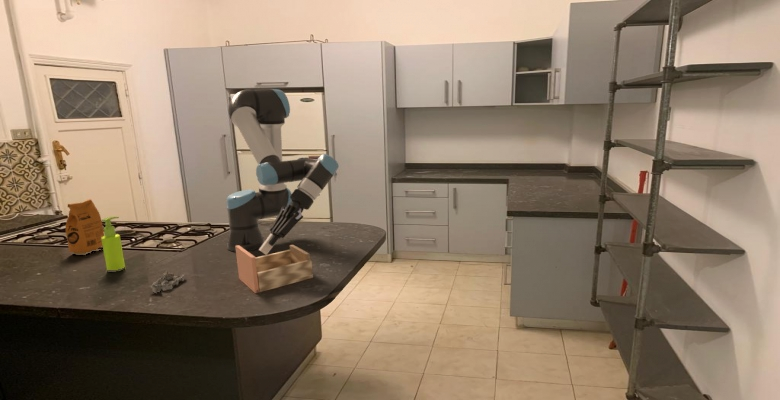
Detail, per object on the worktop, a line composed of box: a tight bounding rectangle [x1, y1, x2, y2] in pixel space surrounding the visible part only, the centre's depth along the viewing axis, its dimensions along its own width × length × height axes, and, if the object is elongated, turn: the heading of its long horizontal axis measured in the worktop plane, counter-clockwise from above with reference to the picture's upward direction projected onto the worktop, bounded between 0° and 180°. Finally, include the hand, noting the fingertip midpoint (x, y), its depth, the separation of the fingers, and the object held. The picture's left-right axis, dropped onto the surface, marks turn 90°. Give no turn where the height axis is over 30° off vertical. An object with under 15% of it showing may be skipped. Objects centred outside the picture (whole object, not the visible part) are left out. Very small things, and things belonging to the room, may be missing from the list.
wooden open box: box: [255, 244, 314, 293], centre depth 150 cm, size 18×16×9 cm
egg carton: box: [149, 270, 185, 293], centre depth 148 cm, size 11×8×4 cm
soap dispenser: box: [101, 216, 126, 271], centre depth 166 cm, size 6×7×20 cm
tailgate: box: [235, 245, 260, 294], centre depth 144 cm, size 1×16×12 cm, turn 35°
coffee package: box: [65, 198, 105, 253], centre depth 190 cm, size 10×12×22 cm
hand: (262, 252), depth 146 cm, fingers closed
